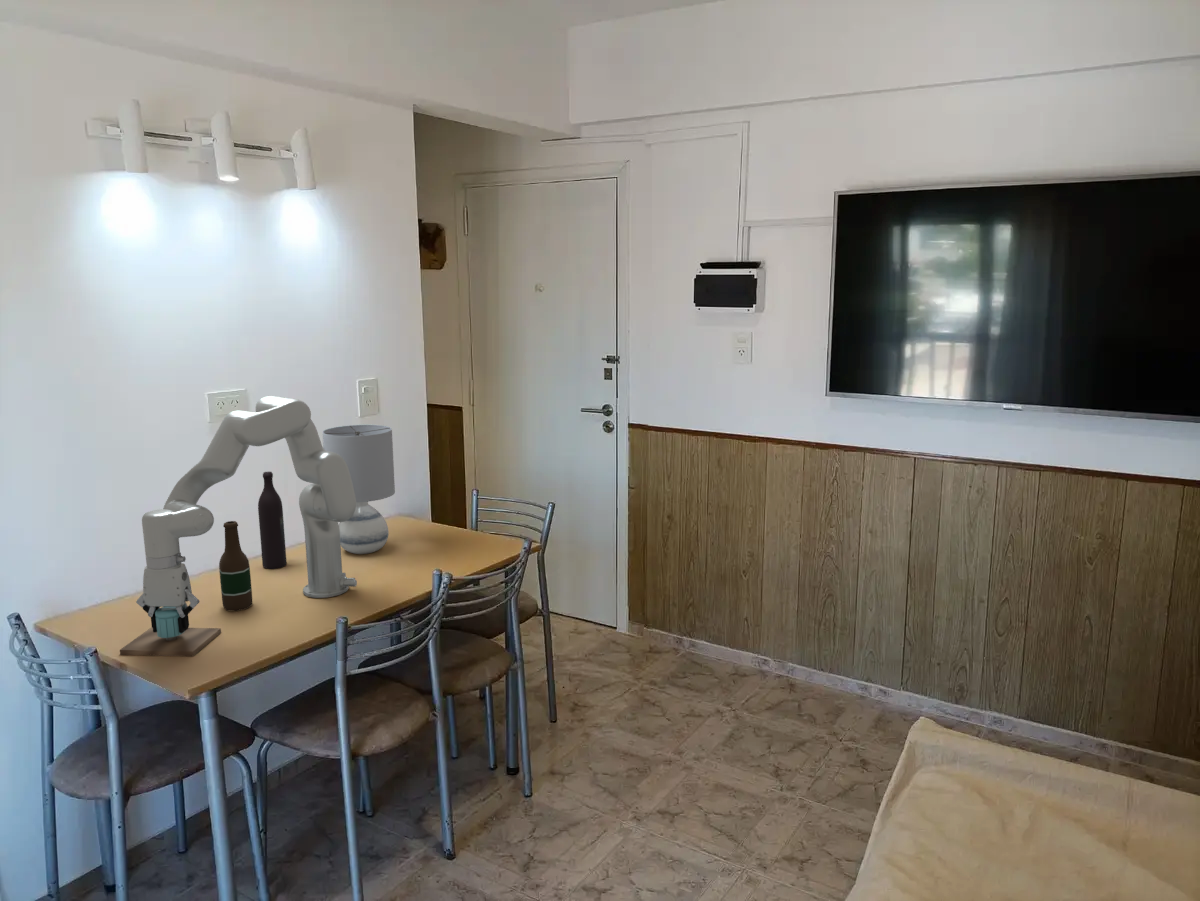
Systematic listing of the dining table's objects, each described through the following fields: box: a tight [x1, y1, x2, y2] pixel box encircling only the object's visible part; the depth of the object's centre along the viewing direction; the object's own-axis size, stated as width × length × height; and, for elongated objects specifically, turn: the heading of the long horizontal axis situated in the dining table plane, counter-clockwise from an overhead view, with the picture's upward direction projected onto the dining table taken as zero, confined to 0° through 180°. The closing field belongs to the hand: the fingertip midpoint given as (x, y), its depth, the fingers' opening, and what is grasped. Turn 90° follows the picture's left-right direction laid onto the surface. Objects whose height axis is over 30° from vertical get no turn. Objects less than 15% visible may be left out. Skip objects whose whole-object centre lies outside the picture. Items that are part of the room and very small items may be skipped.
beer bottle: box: [218, 520, 253, 612], centre depth 238 cm, size 8×8×24 cm
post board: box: [119, 626, 222, 657], centre depth 216 cm, size 18×14×6 cm
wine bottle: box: [257, 471, 287, 570], centre depth 271 cm, size 7×7×30 cm
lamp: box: [321, 424, 396, 555], centre depth 286 cm, size 22×22×40 cm
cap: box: [155, 607, 185, 638], centre depth 215 cm, size 6×6×6 cm
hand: (170, 629), depth 216 cm, fingers closed on cap, 5 cm apart
